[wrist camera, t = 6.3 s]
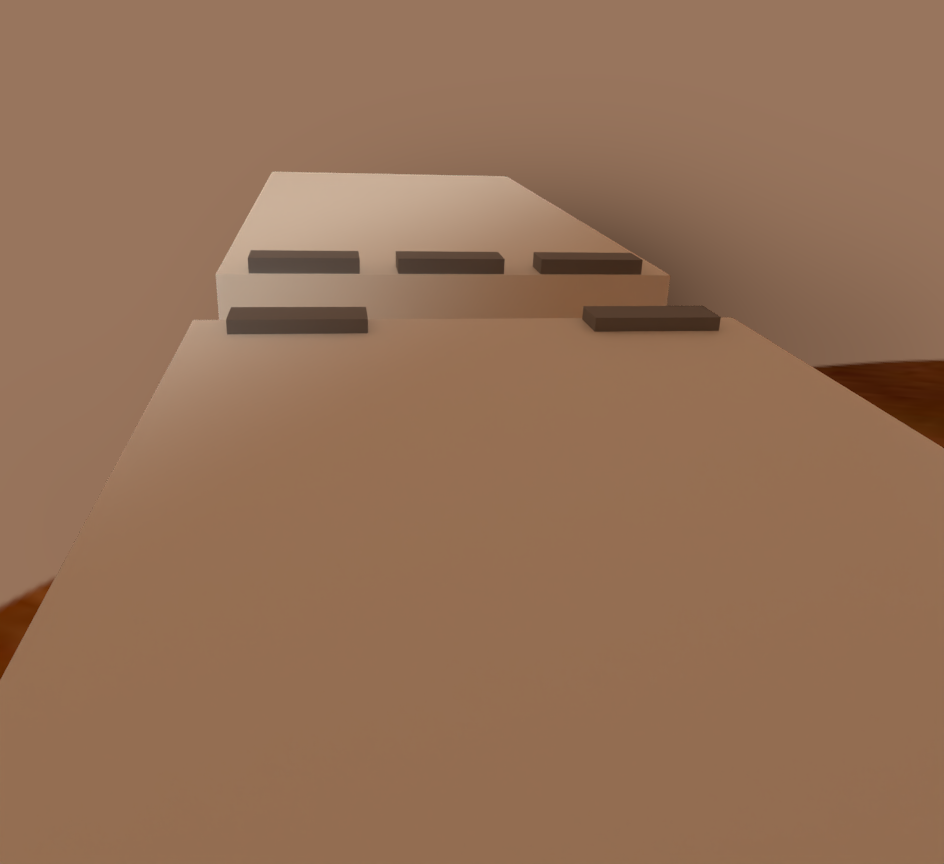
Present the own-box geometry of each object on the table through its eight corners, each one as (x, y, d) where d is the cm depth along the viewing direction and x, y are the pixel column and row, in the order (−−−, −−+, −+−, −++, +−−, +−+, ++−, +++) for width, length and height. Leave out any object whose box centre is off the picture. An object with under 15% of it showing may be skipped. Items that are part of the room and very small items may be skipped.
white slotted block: (489, 572, 27) (508, 168, 23) (595, 907, 16) (675, 260, 12) (287, 581, 26) (265, 163, 22) (258, 944, 16) (201, 257, 11)
